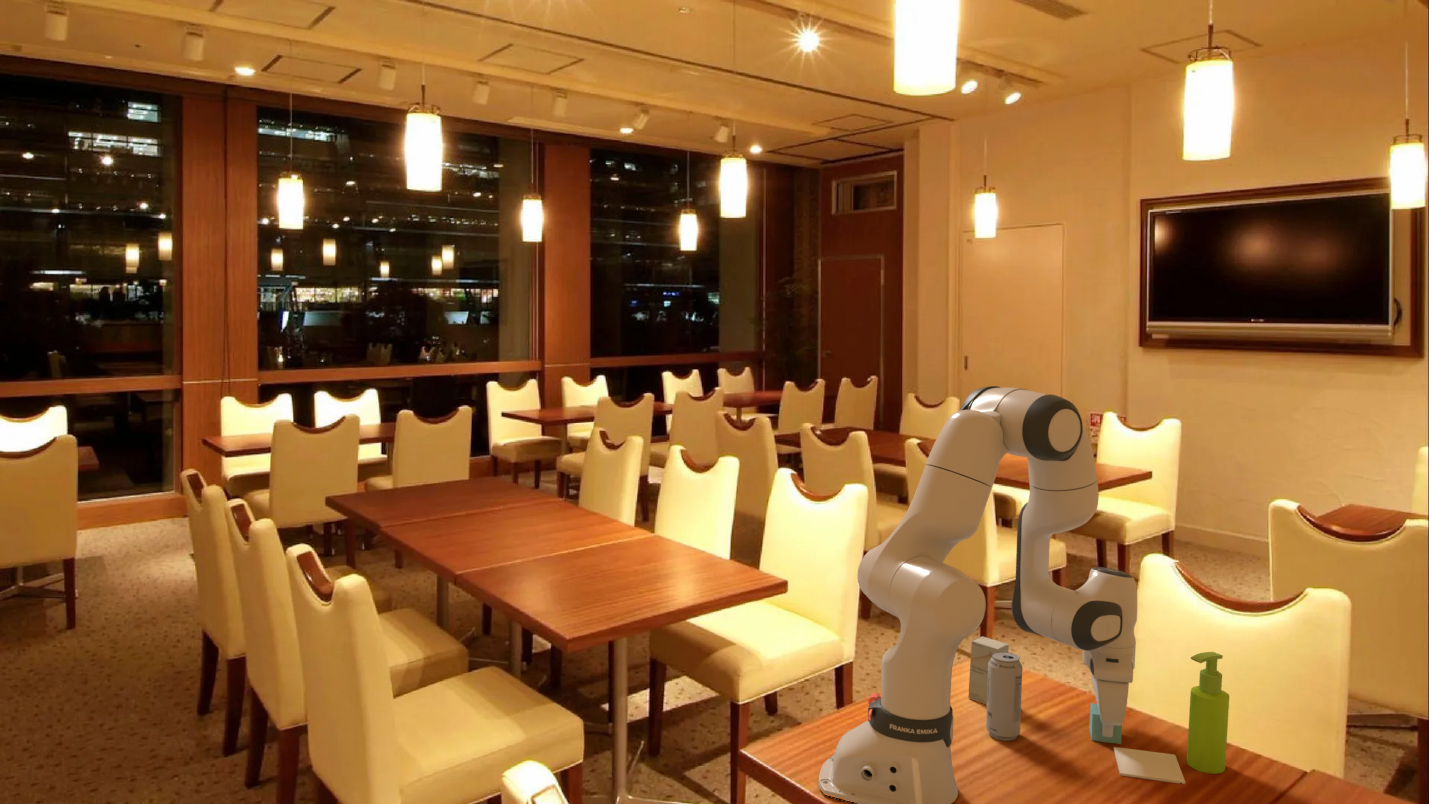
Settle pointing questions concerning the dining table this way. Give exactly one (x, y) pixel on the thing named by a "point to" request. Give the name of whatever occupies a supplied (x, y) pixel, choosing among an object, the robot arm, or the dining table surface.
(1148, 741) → the dining table surface
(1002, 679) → the energy drink can
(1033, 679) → the dining table surface
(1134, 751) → the coaster
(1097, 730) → the block
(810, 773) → the dining table surface
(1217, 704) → the soap dispenser
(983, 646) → the skincare box
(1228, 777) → the dining table surface
